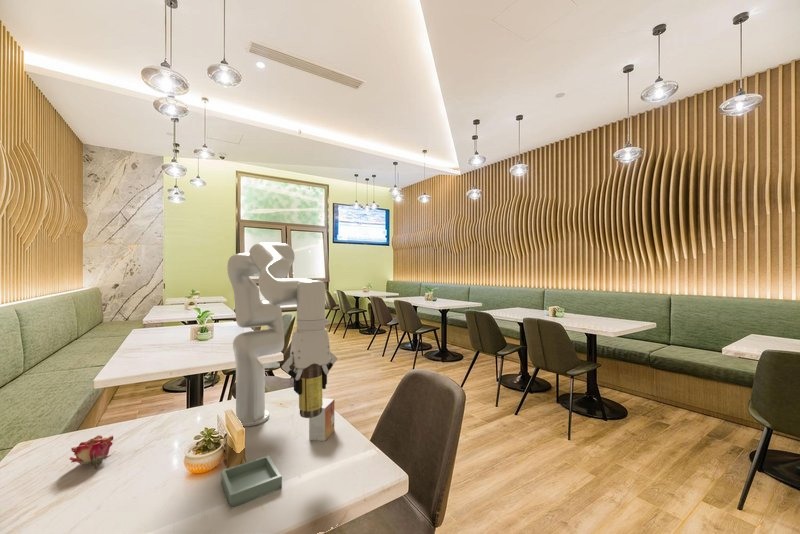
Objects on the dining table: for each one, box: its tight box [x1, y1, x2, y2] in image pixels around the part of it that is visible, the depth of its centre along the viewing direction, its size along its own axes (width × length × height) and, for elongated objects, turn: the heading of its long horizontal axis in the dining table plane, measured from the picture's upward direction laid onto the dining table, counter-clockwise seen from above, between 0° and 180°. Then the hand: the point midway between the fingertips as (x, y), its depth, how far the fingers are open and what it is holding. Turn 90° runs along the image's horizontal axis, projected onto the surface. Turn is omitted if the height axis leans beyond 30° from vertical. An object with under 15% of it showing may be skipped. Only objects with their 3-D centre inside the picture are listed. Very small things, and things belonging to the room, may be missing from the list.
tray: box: [220, 454, 283, 509], centre depth 84 cm, size 12×12×3 cm
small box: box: [308, 397, 336, 442], centre depth 110 cm, size 8×6×10 cm
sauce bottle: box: [298, 363, 323, 419], centre depth 92 cm, size 6×6×20 cm
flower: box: [69, 435, 115, 470], centre depth 92 cm, size 10×9×8 cm
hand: (310, 389), depth 92 cm, fingers closed on sauce bottle, 6 cm apart
